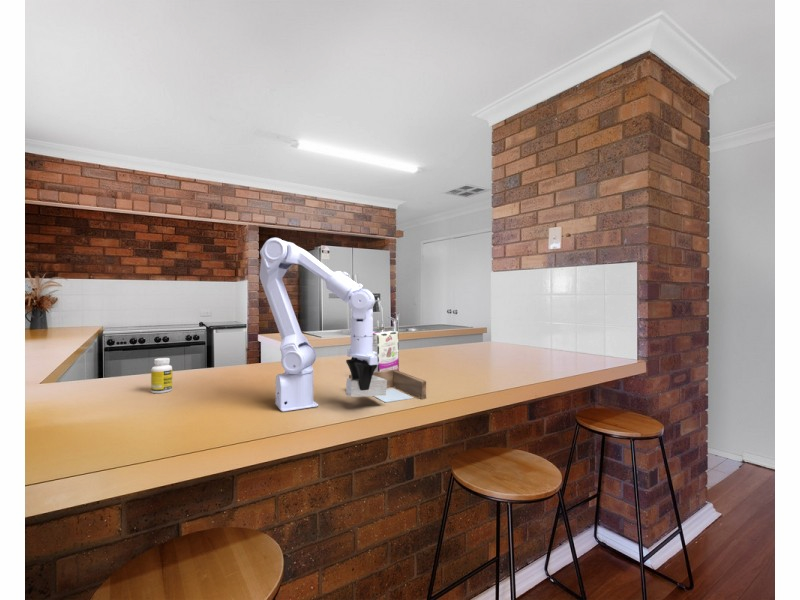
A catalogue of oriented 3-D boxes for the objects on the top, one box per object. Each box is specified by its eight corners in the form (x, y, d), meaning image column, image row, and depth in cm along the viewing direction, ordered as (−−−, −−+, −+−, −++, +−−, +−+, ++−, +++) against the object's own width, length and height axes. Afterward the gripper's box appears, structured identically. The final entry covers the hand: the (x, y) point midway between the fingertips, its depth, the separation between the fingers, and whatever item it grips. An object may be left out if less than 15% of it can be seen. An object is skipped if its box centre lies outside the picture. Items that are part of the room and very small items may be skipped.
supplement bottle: (165, 393, 113) (165, 360, 113) (146, 393, 113) (146, 360, 113) (176, 389, 118) (176, 357, 118) (158, 389, 119) (158, 357, 118)
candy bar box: (388, 376, 138) (388, 330, 137) (399, 378, 135) (399, 331, 134) (367, 382, 129) (367, 333, 129) (378, 384, 126) (378, 334, 126)
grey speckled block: (350, 396, 97) (352, 380, 97) (338, 390, 104) (339, 375, 105) (385, 395, 102) (387, 380, 102) (371, 389, 109) (373, 374, 110)
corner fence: (375, 406, 101) (375, 387, 101) (348, 391, 117) (349, 374, 117) (426, 398, 109) (426, 381, 109) (395, 385, 125) (395, 369, 125)
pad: (385, 402, 105) (385, 402, 105) (366, 392, 115) (366, 392, 115) (413, 398, 110) (413, 397, 110) (392, 389, 120) (392, 388, 120)
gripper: (388, 338, 96) (388, 392, 96) (364, 332, 108) (363, 380, 109) (362, 339, 92) (362, 396, 93) (340, 333, 105) (339, 383, 105)
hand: (361, 388), depth 100 cm, fingers closed on grey speckled block, 3 cm apart
